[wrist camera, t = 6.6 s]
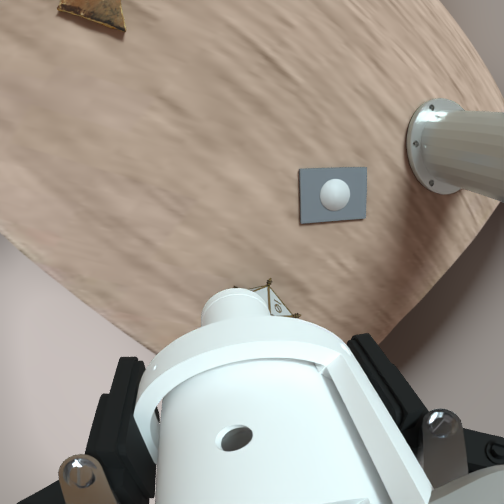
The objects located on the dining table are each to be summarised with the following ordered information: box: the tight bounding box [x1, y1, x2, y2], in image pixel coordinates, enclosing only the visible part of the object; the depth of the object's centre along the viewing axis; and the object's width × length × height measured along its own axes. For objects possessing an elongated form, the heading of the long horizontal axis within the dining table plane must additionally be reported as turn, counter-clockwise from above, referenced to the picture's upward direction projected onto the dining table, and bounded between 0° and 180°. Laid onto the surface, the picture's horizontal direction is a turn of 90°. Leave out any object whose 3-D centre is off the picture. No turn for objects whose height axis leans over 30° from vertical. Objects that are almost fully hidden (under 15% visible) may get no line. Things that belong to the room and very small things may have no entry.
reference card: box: [299, 167, 367, 224], centre depth 35 cm, size 8×6×1 cm
